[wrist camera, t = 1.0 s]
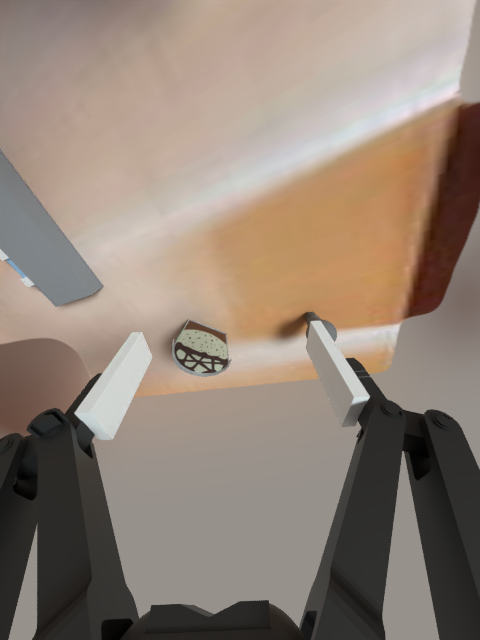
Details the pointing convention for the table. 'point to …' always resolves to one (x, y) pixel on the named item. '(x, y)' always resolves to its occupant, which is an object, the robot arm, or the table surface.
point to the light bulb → (329, 327)
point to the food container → (201, 350)
